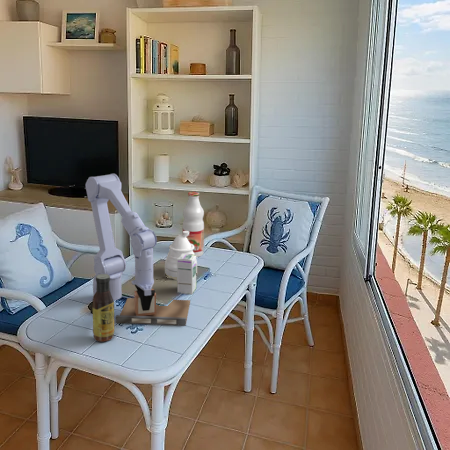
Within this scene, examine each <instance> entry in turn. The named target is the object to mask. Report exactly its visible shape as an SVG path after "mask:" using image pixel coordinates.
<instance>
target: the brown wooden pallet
mask: <svg viewBox="0 0 450 450" xmlns="http://www.w3.org/2000/svg"><path fill="white" fill-rule="evenodd" d="M172 300H173V301H172V302H171V303H170V304H169V305H168V306H159V305H156V314H153V315H144V316H136V313H135V304H134V297H127V298H126V301H125V303H124V305H123V308H122V309H121V311H120V314H116V315H115V323H116V324H133V325H158V326H159V325H162V326H163V325H164V326H183V327H184V326H187V321H188V315H189V310H190V305H191V300H190V299H188V300H187V299H172Z"/></svg>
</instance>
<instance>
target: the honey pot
mask: <svg viewBox="0 0 450 450" xmlns="http://www.w3.org/2000/svg"><path fill="white" fill-rule="evenodd" d="M188 235H189V231H183V230H182V234H181V233H180V234H177V236H176V237H175V238H174V240H173V241H172V243H171V244H169V246H168V249H169V250H168V253H167V256H166V259H165V261H164V274H165V273H166V274H167V275H169V276H172V277H177V259H178V258H179V257H180V256H181V254H193V255H195V254H194V252H193V249H194V245H193V244H191V243H190V242H189V241H188V239H187V238H186V237H187V236H188ZM196 273H197V274H198V260H196Z"/></svg>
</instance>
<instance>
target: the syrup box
mask: <svg viewBox="0 0 450 450" xmlns="http://www.w3.org/2000/svg"><path fill="white" fill-rule="evenodd" d="M196 261H197V257H196V255H193V254H181V256H180V257H179V258H178V259H177V280H176V281H177V284H176V285H177V293H178V292H181V293H180V294H182V295H183V294H185V295H190V296H191V295H194V293H195V292H196V290H197V276H196Z"/></svg>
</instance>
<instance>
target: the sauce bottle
mask: <svg viewBox="0 0 450 450" xmlns="http://www.w3.org/2000/svg"><path fill="white" fill-rule="evenodd" d="M96 282H97V288H96V290H97V291H96V293H95V295H94V296H93V297H92V334H93V339H94V340H95V341H97V342H101V343H102V342H108V341H111V340H112V339H114V336H115V300H113V298H112V295H111V292H110V287H109V282H110V276H109V275H107V274H100V275H97V276H96Z"/></svg>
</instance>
